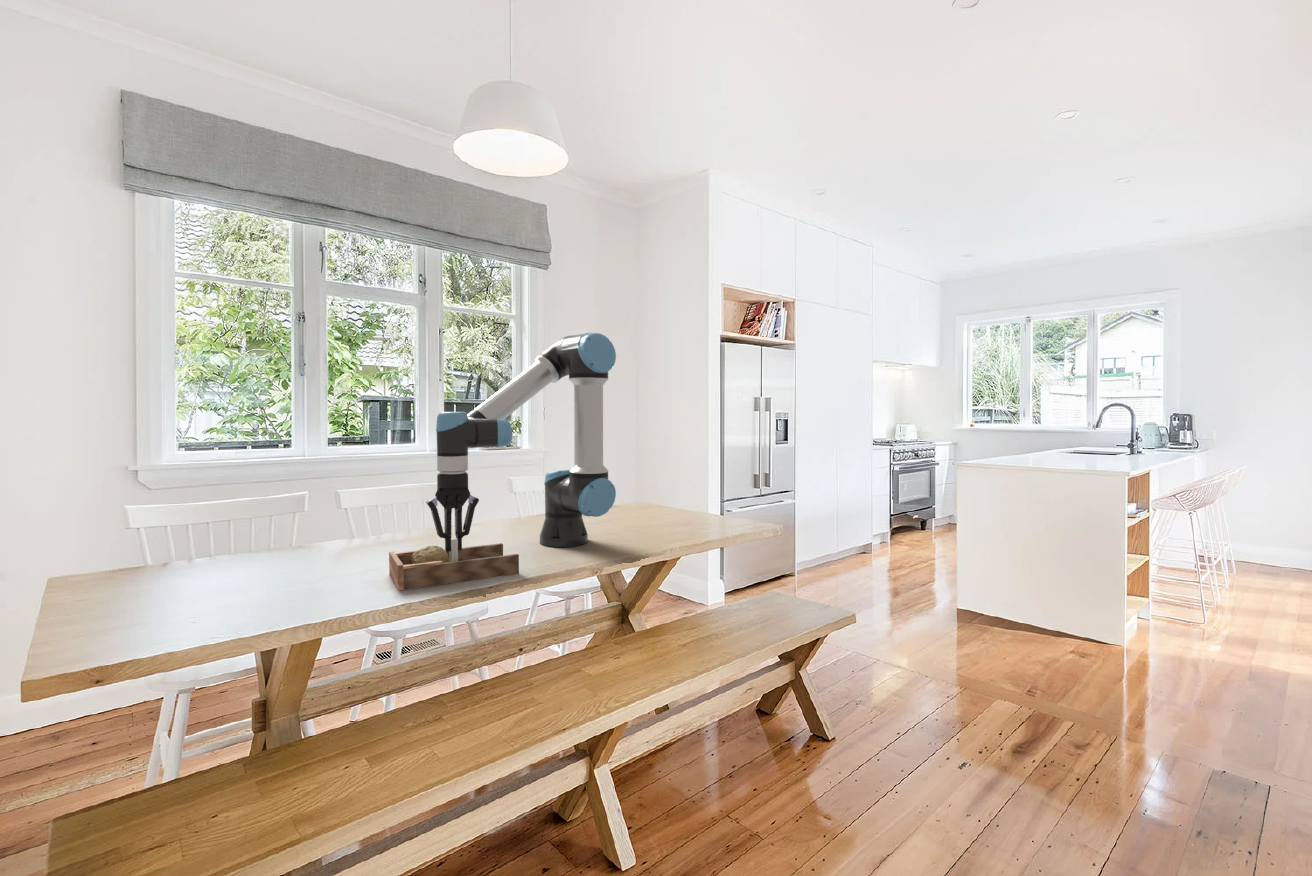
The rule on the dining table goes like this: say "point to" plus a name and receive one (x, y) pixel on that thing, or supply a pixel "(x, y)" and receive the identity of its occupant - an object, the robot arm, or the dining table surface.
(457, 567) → the tray
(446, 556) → the coral
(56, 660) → the dining table surface
